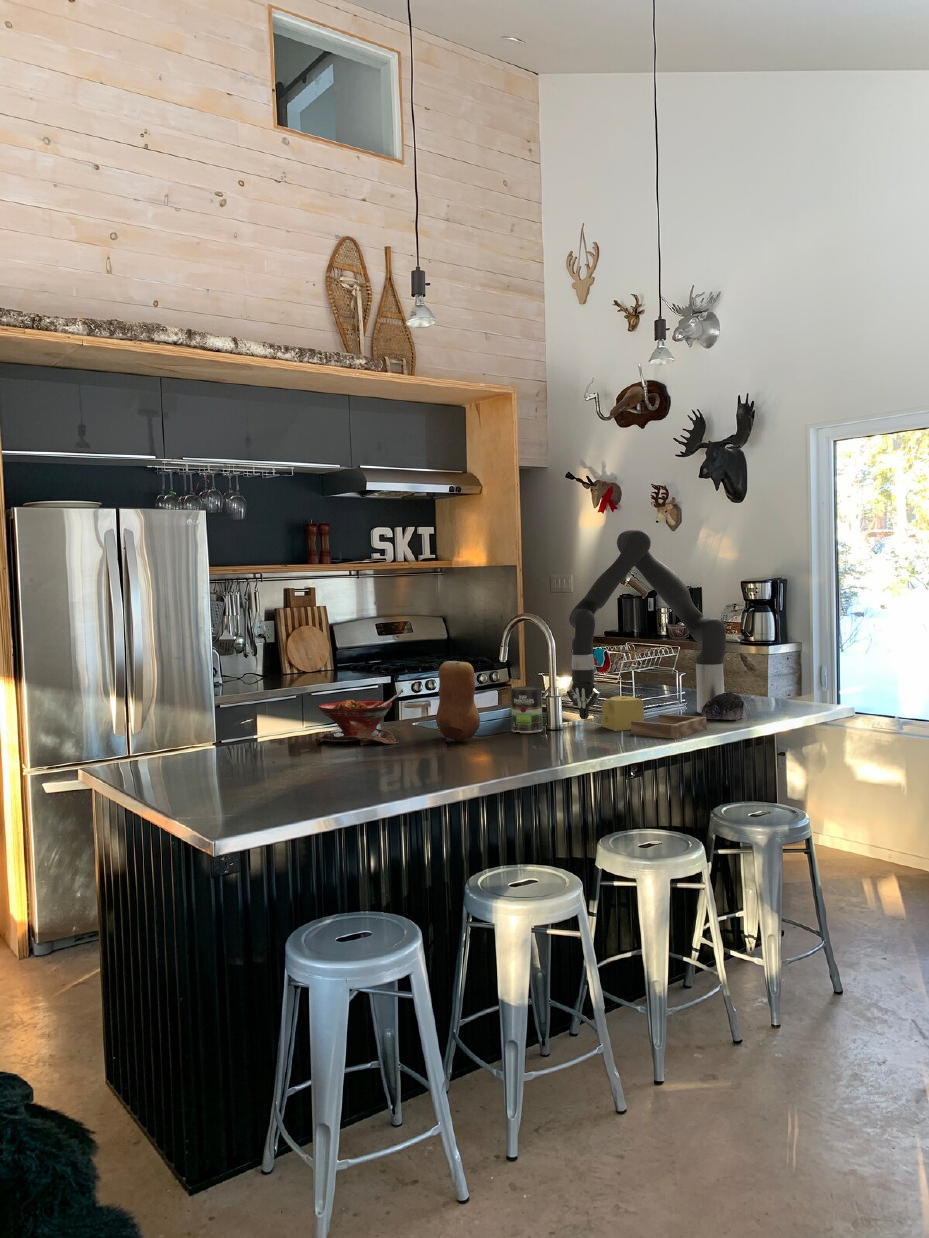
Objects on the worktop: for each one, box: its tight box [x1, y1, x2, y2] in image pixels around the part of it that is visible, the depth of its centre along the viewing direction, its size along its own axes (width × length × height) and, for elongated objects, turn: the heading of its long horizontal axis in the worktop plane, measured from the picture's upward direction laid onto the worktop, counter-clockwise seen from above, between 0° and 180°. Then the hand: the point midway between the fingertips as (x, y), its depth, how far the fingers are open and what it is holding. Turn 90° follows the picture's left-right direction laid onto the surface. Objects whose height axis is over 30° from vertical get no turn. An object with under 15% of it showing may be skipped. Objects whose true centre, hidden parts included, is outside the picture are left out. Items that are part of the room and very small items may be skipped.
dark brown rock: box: [701, 691, 745, 721], centre depth 321 cm, size 13×14×10 cm
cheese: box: [600, 695, 645, 732], centre depth 313 cm, size 10×11×10 cm
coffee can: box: [509, 685, 544, 734], centre depth 313 cm, size 10×10×14 cm
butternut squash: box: [435, 660, 481, 742], centre depth 300 cm, size 14×13×25 cm
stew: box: [314, 688, 404, 746], centre depth 303 cm, size 28×24×16 cm
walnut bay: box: [630, 713, 707, 740], centre depth 301 cm, size 19×16×4 cm
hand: (584, 718), depth 322 cm, fingers closed
